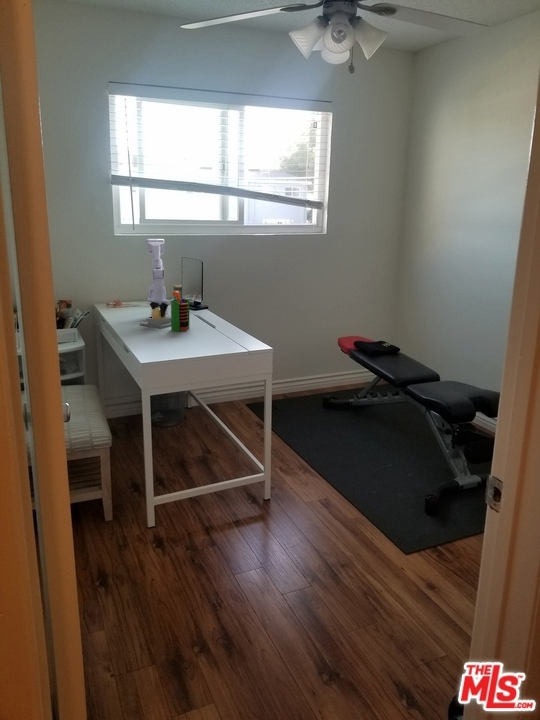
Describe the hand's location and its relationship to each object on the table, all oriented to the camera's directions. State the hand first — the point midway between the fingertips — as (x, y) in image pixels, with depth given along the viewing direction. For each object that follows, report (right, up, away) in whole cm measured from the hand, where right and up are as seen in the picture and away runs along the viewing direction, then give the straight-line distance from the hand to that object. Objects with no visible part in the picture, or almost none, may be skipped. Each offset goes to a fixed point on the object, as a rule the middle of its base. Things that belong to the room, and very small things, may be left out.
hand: (159, 316), depth 292 cm
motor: (+13, -8, -10) cm, 18 cm away
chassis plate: (0, -4, +1) cm, 4 cm away
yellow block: (0, -1, 0) cm, 1 cm away
